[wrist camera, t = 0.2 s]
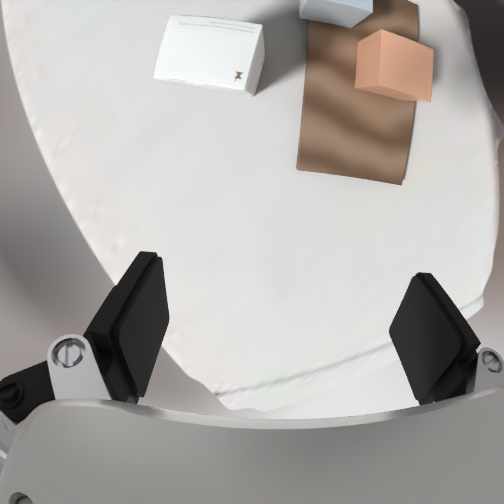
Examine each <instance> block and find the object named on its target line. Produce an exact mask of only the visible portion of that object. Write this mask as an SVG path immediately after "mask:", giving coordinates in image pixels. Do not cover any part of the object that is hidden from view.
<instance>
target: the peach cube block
mask: <svg viewBox="0 0 504 504" xmlns="http://www.w3.org/2000/svg"><path fill="white" fill-rule="evenodd" d="M432 79H433V49H431V48H429V47H427V46H424V45H422V44H420V43H417V42H415V41H412V40H410V39H407V38H405V37H402V36H399V35H396V34H394V33H391V32H388V31H385V30H382V29H381V30H379V31H377V32H375V33H373V34H371V35H370V36H368V37H366V38H364V39H363V40H361V41H359V42H358V48H357V65H356V79H355V88H356V89H360V90H364V91H369V92H373V93H376V94H380V95H384V96H387V97H391V98H394V99H398V100H406V101H423V102H431V93H432Z"/></svg>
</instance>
